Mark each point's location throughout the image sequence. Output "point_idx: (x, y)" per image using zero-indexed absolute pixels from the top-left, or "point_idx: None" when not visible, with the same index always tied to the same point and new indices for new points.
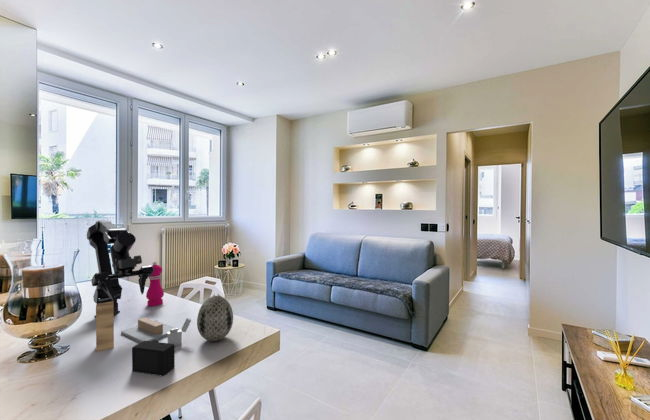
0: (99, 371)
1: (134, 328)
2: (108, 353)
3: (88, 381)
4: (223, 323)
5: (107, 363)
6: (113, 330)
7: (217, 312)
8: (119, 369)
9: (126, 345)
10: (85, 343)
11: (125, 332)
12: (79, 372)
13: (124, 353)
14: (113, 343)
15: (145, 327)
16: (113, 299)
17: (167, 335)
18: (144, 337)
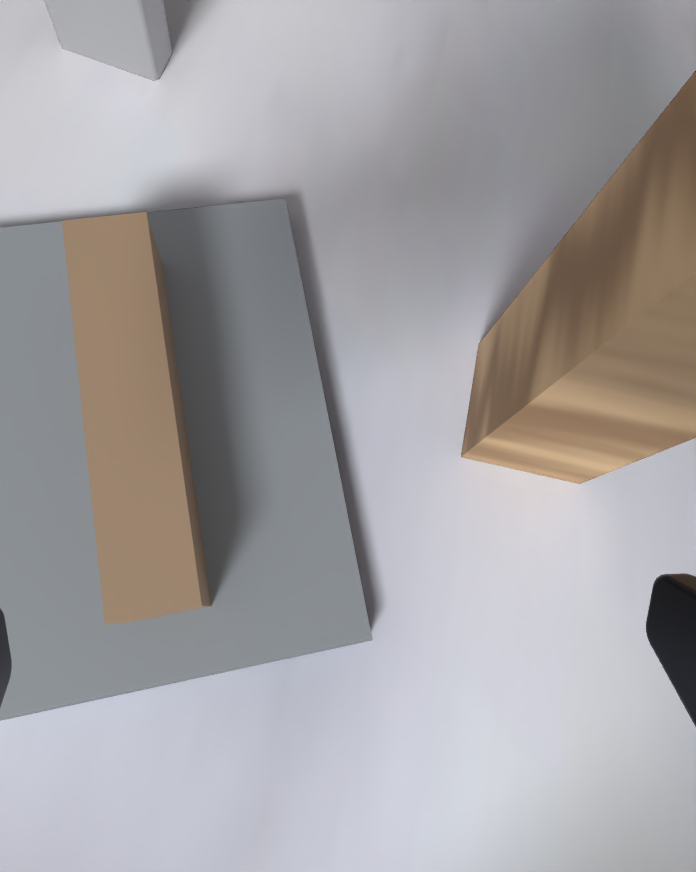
0: (595, 65)
1: (247, 609)
2: (524, 271)
3: (648, 5)
4: None
5: (548, 126)
6: (539, 268)
7: None
8: (503, 3)
9: (393, 313)
10: None
11: (349, 555)
12: None
13: (436, 184)
14: (492, 330)
15: (183, 436)
16: (670, 574)
17: (144, 6)
18: (255, 283)
